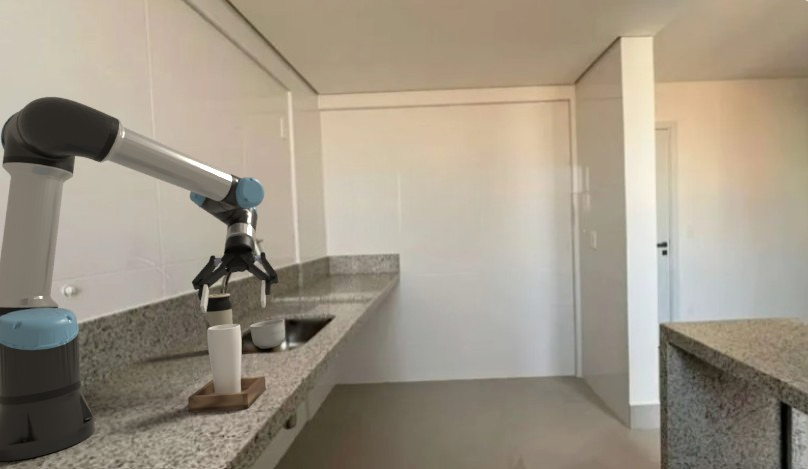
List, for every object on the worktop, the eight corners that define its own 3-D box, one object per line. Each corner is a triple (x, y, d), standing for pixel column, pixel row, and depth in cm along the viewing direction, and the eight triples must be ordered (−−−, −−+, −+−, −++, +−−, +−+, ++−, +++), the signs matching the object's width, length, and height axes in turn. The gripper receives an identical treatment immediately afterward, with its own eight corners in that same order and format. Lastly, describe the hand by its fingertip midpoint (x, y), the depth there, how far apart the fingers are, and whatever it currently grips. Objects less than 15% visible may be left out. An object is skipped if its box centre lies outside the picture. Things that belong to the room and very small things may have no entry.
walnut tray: (188, 412, 95) (188, 397, 95) (213, 393, 107) (212, 379, 107) (248, 408, 95) (247, 393, 95) (265, 389, 107) (264, 376, 107)
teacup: (277, 350, 148) (275, 324, 148) (245, 351, 150) (243, 325, 150) (294, 340, 162) (293, 317, 162) (264, 341, 163) (263, 318, 163)
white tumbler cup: (233, 402, 97) (229, 329, 97) (204, 402, 98) (200, 330, 99) (250, 391, 104) (246, 323, 104) (223, 391, 105) (219, 324, 105)
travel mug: (234, 346, 158) (230, 292, 158) (234, 351, 150) (230, 294, 151) (208, 349, 155) (205, 295, 155) (207, 354, 148) (203, 297, 148)
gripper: (289, 250, 131) (288, 311, 116) (194, 256, 127) (181, 321, 112) (286, 230, 126) (285, 292, 111) (187, 236, 122) (173, 301, 107)
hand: (233, 307), depth 112 cm, fingers open, 13 cm apart
